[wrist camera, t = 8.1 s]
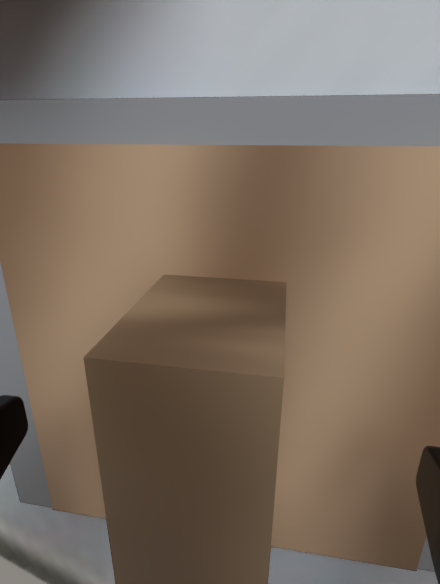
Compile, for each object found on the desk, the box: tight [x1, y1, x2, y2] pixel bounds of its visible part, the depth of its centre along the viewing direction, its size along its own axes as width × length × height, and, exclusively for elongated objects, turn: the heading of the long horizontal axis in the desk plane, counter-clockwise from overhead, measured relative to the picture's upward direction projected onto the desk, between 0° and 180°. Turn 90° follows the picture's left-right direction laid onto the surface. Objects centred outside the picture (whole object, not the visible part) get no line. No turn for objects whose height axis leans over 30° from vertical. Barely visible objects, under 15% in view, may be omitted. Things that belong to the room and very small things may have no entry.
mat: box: [0, 94, 440, 572], centre depth 11 cm, size 16×14×1 cm
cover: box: [0, 143, 440, 584], centre depth 9 cm, size 12×12×5 cm
